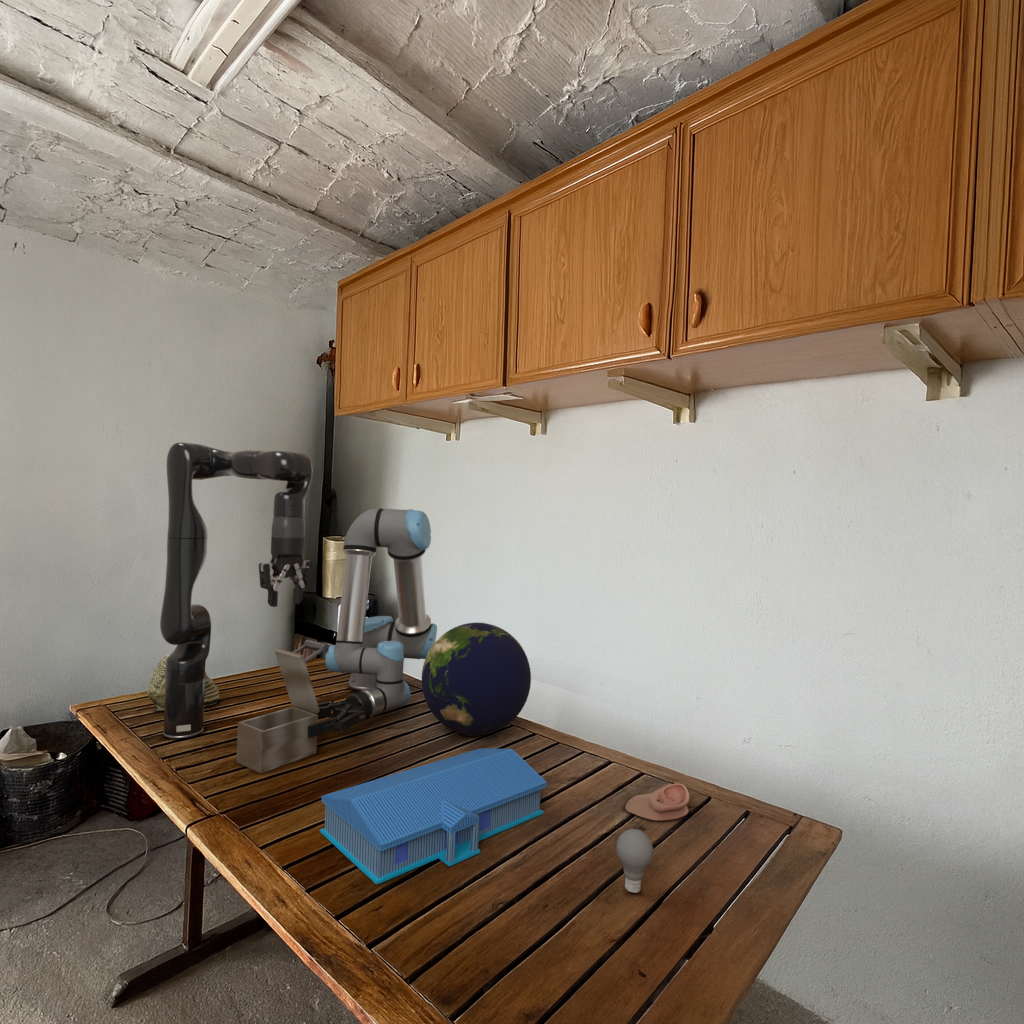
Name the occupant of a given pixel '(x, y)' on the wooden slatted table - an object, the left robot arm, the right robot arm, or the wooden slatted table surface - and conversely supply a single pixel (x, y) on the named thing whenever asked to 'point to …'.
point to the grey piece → (300, 675)
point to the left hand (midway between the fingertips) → (285, 604)
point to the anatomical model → (661, 803)
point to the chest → (275, 739)
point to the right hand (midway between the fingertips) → (295, 726)
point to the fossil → (158, 687)
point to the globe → (476, 679)
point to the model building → (431, 811)
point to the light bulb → (634, 857)
